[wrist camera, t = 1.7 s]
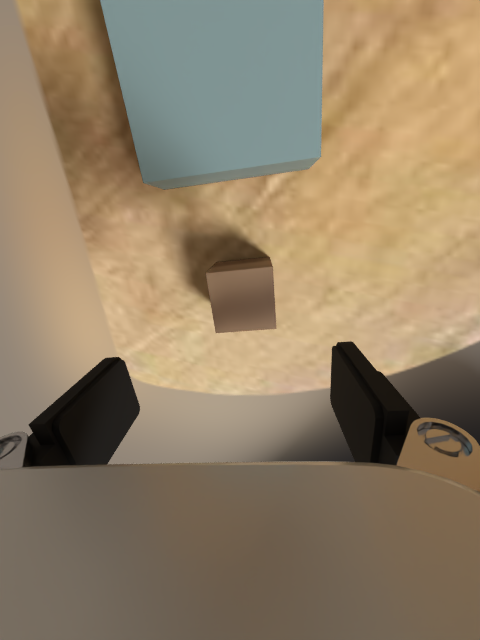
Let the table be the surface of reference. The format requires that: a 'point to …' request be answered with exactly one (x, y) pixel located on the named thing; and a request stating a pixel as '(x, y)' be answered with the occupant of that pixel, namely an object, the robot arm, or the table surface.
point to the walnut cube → (242, 295)
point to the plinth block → (219, 86)
